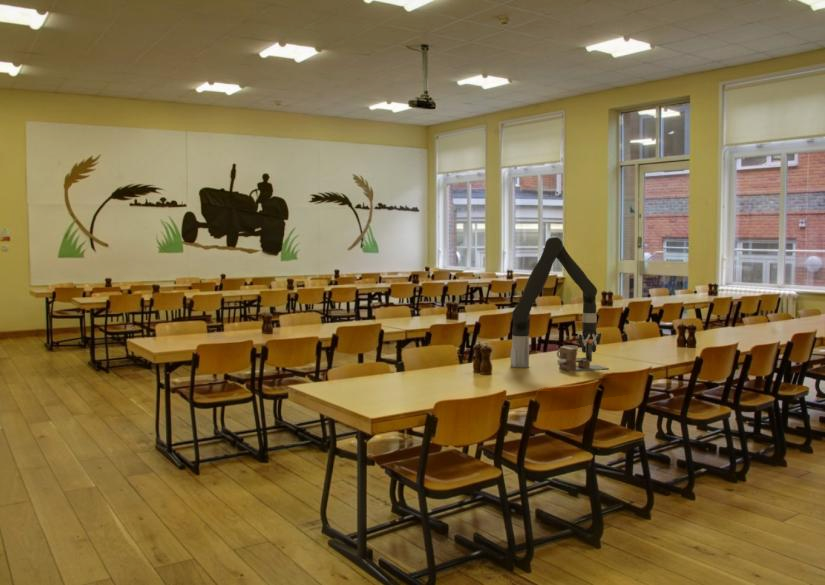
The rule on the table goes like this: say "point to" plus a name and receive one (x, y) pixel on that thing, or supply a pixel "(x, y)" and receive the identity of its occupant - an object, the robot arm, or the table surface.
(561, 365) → the grey upright block
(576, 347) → the mug
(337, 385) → the table surface
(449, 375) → the table surface
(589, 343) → the hook rod
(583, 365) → the saddle
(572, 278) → the robot arm
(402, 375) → the table surface
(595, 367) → the mat
